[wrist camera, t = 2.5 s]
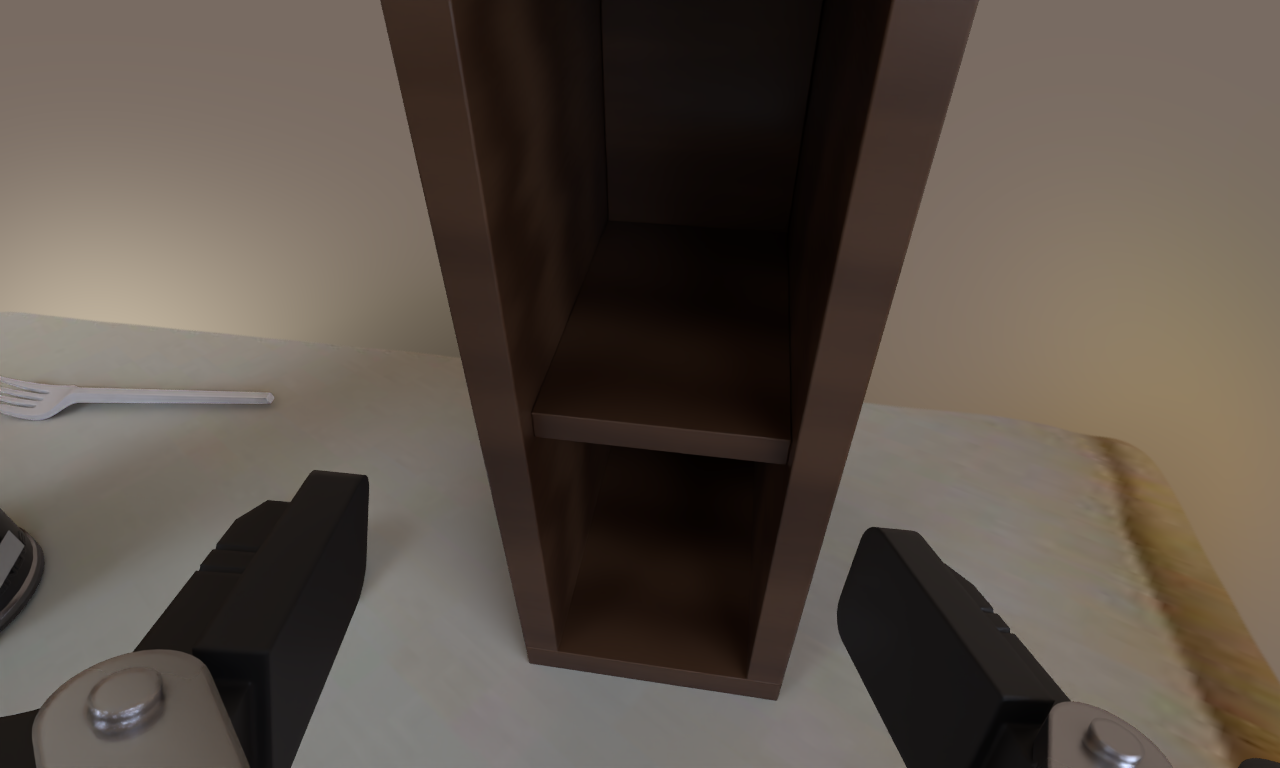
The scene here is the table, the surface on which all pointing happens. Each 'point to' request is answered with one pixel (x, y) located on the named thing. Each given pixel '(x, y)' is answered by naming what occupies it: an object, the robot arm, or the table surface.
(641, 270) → the tall wooden box
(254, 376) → the table surface
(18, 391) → the fork
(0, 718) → the robot arm
